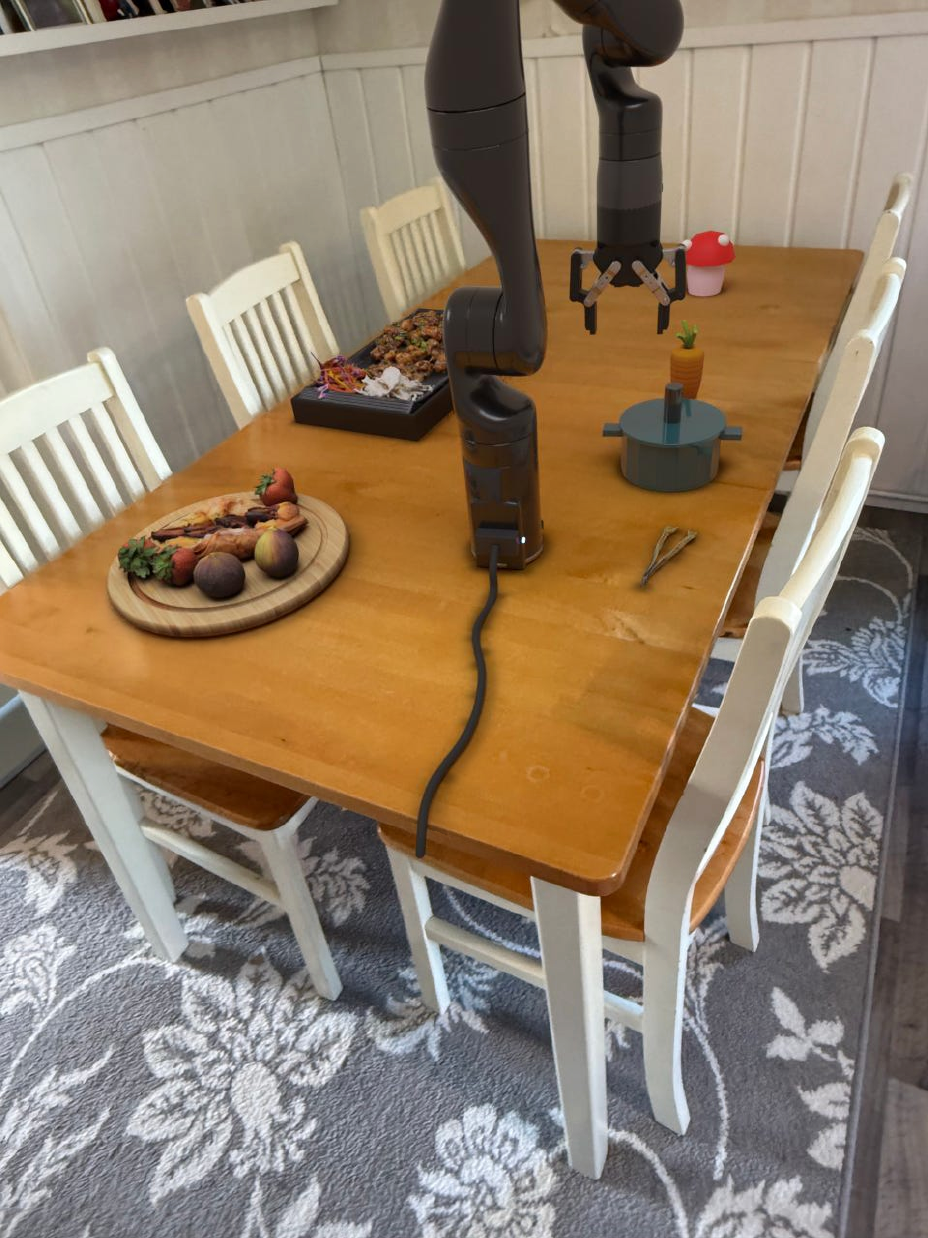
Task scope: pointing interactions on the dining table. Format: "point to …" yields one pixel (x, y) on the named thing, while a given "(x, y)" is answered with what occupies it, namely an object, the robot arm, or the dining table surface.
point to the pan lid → (672, 421)
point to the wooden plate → (229, 561)
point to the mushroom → (707, 262)
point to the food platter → (384, 383)
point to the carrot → (687, 363)
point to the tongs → (680, 545)
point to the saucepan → (670, 461)
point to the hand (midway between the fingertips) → (626, 332)
